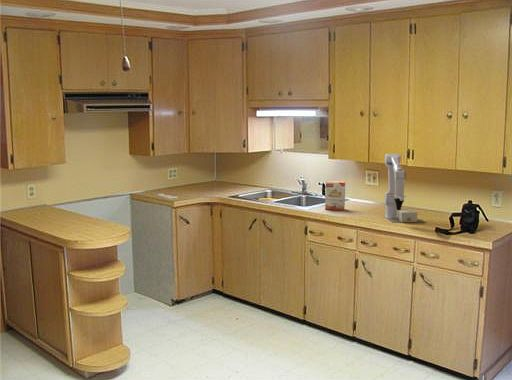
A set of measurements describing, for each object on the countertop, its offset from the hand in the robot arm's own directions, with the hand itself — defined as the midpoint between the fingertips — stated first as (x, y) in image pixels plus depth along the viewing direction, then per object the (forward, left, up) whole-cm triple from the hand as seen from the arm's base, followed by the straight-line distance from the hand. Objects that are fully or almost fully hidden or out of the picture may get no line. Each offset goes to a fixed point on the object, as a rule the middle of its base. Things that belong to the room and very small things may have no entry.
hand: (398, 209), depth 358 cm
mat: (-9, +9, -10) cm, 16 cm away
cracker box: (-50, -34, -10) cm, 62 cm away
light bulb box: (-4, +8, -6) cm, 11 cm away
